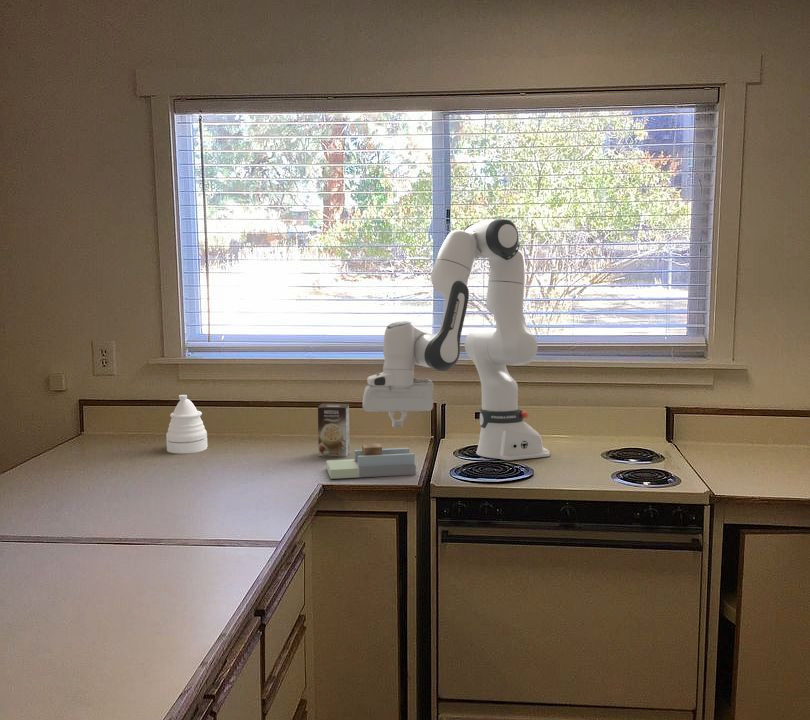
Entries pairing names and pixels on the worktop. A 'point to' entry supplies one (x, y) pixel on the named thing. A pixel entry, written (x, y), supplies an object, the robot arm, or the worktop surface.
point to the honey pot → (186, 429)
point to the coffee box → (333, 429)
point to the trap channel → (374, 464)
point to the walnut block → (371, 449)
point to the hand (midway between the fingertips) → (397, 426)
